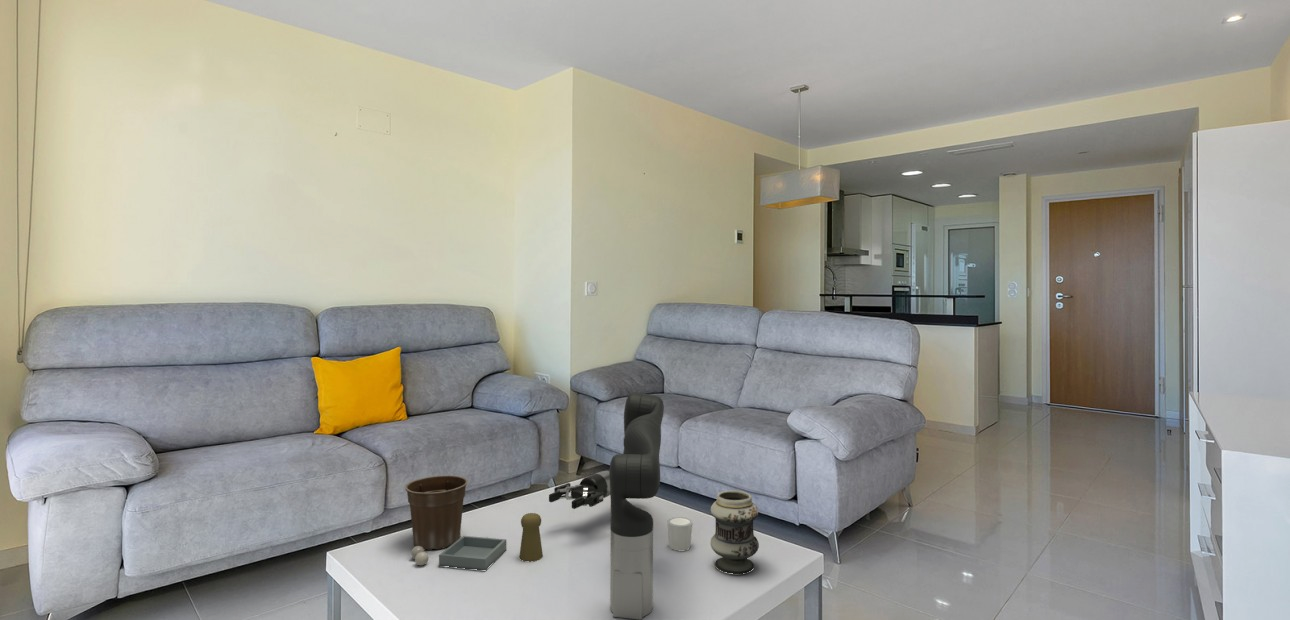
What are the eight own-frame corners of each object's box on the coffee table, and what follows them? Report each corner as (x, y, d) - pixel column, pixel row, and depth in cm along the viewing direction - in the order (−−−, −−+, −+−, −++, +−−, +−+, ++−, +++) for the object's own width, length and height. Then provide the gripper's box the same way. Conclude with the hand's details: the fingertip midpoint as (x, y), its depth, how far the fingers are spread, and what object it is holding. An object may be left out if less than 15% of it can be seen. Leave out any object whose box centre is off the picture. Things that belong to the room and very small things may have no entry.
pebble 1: (419, 561, 151) (419, 549, 151) (408, 560, 152) (408, 548, 152) (426, 556, 154) (426, 544, 154) (415, 555, 155) (415, 543, 155)
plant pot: (405, 534, 169) (405, 478, 169) (465, 527, 175) (465, 472, 174) (404, 557, 154) (404, 495, 153) (469, 549, 159) (469, 489, 159)
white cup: (690, 553, 157) (690, 526, 157) (665, 550, 159) (665, 524, 159) (693, 542, 164) (694, 517, 164) (669, 540, 165) (669, 515, 165)
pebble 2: (424, 568, 148) (424, 555, 148) (412, 567, 148) (412, 554, 148) (431, 562, 151) (431, 550, 151) (419, 561, 151) (419, 549, 151)
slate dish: (485, 571, 146) (485, 559, 146) (438, 566, 148) (438, 554, 148) (506, 550, 158) (506, 539, 158) (463, 546, 161) (463, 535, 161)
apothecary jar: (729, 552, 158) (730, 484, 158) (768, 566, 150) (768, 495, 149) (700, 565, 150) (700, 494, 150) (739, 582, 141) (739, 506, 141)
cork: (514, 558, 153) (514, 516, 153) (529, 550, 159) (529, 509, 159) (532, 563, 151) (533, 520, 150) (547, 554, 156) (547, 512, 156)
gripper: (580, 469, 181) (542, 483, 168) (617, 478, 173) (580, 493, 160) (580, 493, 181) (542, 509, 168) (617, 503, 173) (580, 521, 160)
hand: (561, 501), depth 164 cm, fingers open, 8 cm apart
